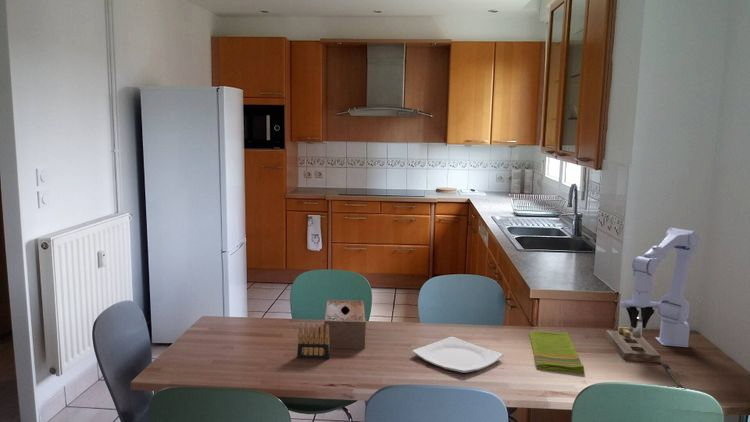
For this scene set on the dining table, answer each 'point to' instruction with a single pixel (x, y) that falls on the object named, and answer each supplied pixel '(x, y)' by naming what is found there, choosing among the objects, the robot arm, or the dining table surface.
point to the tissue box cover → (345, 323)
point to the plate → (457, 355)
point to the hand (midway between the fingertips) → (638, 327)
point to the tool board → (633, 347)
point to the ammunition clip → (313, 343)
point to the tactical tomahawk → (672, 375)
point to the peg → (638, 328)
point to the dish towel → (555, 352)
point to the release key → (624, 331)
